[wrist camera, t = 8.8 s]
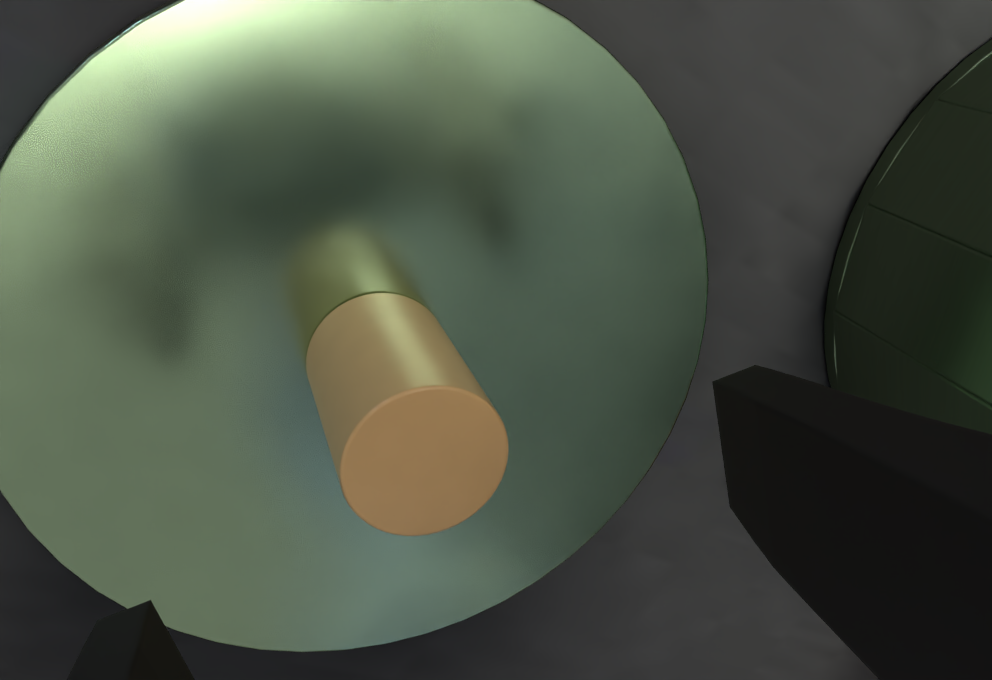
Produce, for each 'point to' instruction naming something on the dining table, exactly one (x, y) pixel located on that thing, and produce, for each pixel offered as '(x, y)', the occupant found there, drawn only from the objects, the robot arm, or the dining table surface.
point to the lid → (339, 312)
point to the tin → (922, 263)
